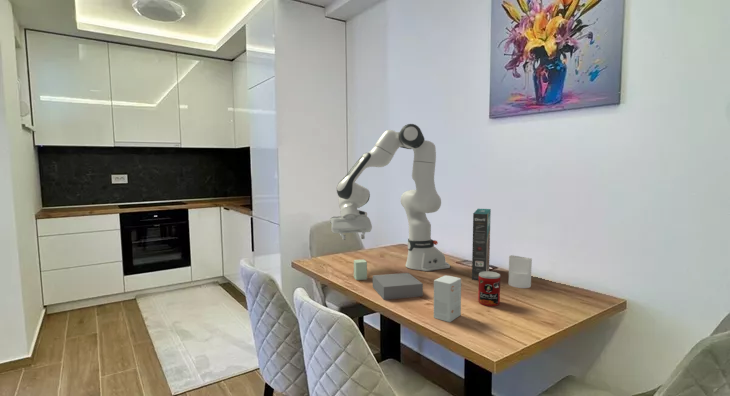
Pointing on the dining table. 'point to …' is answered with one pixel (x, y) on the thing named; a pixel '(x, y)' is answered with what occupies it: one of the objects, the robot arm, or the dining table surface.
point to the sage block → (360, 269)
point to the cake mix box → (481, 242)
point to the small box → (447, 298)
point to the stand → (397, 286)
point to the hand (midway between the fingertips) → (353, 238)
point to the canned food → (489, 288)
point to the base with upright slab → (520, 271)
